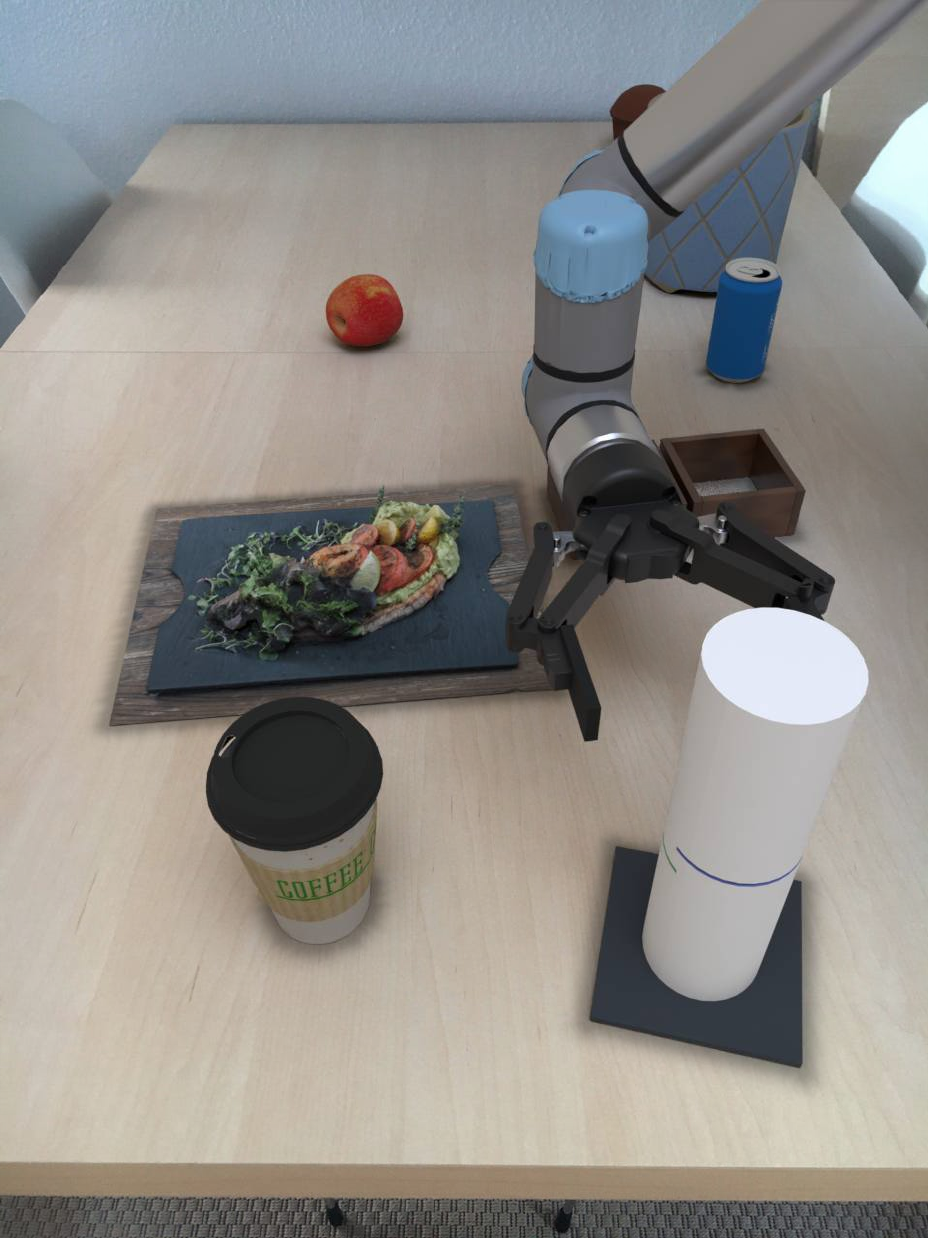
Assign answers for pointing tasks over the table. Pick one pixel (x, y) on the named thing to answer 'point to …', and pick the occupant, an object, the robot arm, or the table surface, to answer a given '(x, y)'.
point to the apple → (364, 310)
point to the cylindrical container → (747, 793)
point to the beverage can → (743, 319)
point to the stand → (724, 460)
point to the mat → (645, 1004)
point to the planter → (731, 216)
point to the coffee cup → (301, 811)
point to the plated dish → (326, 603)
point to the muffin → (632, 106)
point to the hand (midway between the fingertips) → (714, 709)
